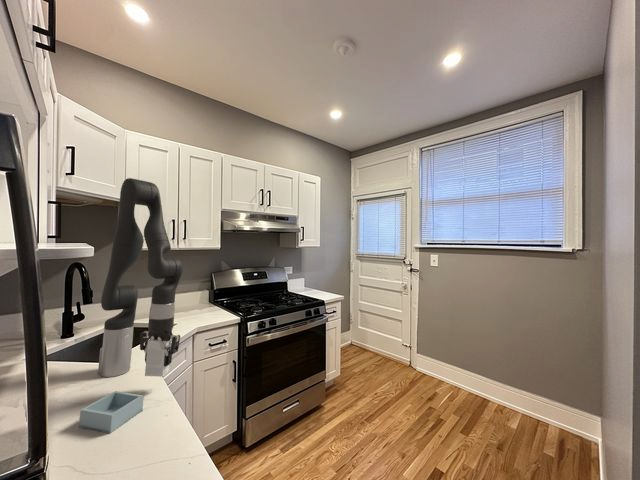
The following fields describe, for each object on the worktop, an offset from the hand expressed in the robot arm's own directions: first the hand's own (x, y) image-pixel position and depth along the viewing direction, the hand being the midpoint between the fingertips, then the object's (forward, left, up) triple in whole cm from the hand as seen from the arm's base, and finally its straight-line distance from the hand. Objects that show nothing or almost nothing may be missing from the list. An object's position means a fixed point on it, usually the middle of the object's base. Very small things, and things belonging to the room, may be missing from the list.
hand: (157, 363), depth 90 cm
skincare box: (0, 0, -4) cm, 4 cm away
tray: (0, -16, -9) cm, 18 cm away
